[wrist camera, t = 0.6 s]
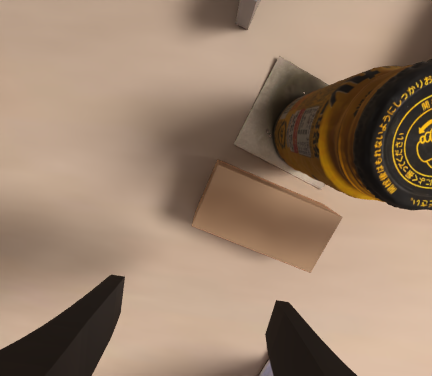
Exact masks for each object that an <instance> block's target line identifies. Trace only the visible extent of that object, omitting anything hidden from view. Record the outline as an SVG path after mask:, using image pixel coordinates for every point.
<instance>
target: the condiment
mask: <svg viewBox="0 0 432 376" xmlns="http://www.w3.org/2000/svg"><path fill="white" fill-rule="evenodd" d="M303 92H305V94H304V93H303ZM267 129H268V130H269V133H267ZM269 134H271V137H269ZM234 145H236V146H238V147H240V148H242V149H244V150H246V151H248V152H250V153H251V154H253V155H255V156H257V157H259V158H261V159H263V160H265V161H267V162H269V163H271V164H273V165H275V166H276V167H278V168H280V169H282V170H284V171H286V172H288V173H290V174H292V175H294V176H296V177H298V178H300V179H301V180H303V181H305V182H307V183H309V184H311V185H313V186H315V187H317V188H319V189H321V190H322V189H323V187H324V185H325V184H326V185H328V186H330V187H332V188H334V189H335V190H337V191H340V192H343V193H345V194H347V195H348V196H351V197H354V198H359V199H367V200H378V201H382V202H386V203H387V204H388V205H392V206H394V207H399V208H401V209H408V210H422V209H427V210H432V59H430V60H429V61H427V62H420V63H416V64H414V65H408V66H404V67H402V66H384V67H378V68H373V69H371V70H368V71H366V72H362V73H360V74H357V75H354V76H351V77H349V78H347V79H344V80H341V81H338V82H336V83H334V84H331V85H328V84H326V83H324V82H323V81H321V80H320V79H318V78H316V77H314V76H313V75H311V74H309V73H308V72H306V71H304V70H302V69H301V68H299V67H297V66H296V65H294V64H293V63H291V62H289V61H287V60H286V59H284V58H282V57H280V56H279V58H278V60H277V62H276V63H275V66H274V67H273V69H272V71H271V73H270V75H269V77H268V79H267V81H266V83H265V85H264V87H263V88H262V90H261V92H260V94H259V96H258V98H257V100H256V102H255V104H254V106H253V107H252V110H251V111H250V113H249V115H248V117H247V119H246V121H245V123H244V125H243V127H242V129H241V131H240V133H239V135H238V137H237V139H236V141H235V142H234Z"/></svg>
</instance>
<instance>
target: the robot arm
mask: <svg viewBox="0 0 432 376" xmlns="http://www.w3.org/2000/svg"><path fill="white" fill-rule="evenodd" d="M124 280H125V277H123V276H117V275H110V276H109V277H107V278H106V279H105V280H104V281H103V282H101V283H100V284H99V285H98V286H96V287H95V288H94V289H93V290H92V291H90V292H89V293H88V294H86V295H85V296H84V297H83V298H81V299H80V300H79V301H77V302H76V303H75V304H73V305H72V306H71V307H69V308H68V309H66V310H65V311H64V312H62V313H61V314H59V315H58V316H56V317H55V318H54V319H52V320H51V321H49V322H48V323H46V324H44V325H43V326H41V327H40V328H38V329H37V330H35V331H33V332H32V333H30V334H28V335H27V336H25V337H23V338H21V339H20V340H18V341H16V342H14V343H12V344H10V345H9V346H7V347H5V348H3V349H1V350H0V376H92V374H93V372H94V370H95V368H96V366H97V364H98V362H99V360H100V358H101V356H102V354H103V352H104V350H105V348H106V347H107V345H108V343H109V341H110V339H111V337H112V334H113V331H114V329H115V326H116V324H117V321H118V318H119V316H120V313H121V305H122V296H123V288H124ZM265 335H266V342H267V349H268V356H269V360H268V362H267V363H266V365H265V367H264V368H263V370H262V371H261V373H260V375H259V376H357V375H356V374H355V373H354V372H353V371H352V370H351V369H350V368H348V367H347V366H346V365H345V364H344V363H343V362H342V361H341V360H340V359H339V358H338V357H337V356H336V354H335V353H334V352H333V351H332V350H331V349H330V348H329V347H328V346H327V345H326V344H325V343H324V342H323V341H322V340H321V339H320V337H319V336H318V335H317V334H316V333H315V332H314V331H313V330H312V328H311V327H310V326H309V325H308V324H307V323H306V322H305V320H304V319H303V318H302V317H301V316H300V315H299V313H298V312H297V311H296V310H295V309H294V308H293V307H292V305H291V304H290V303H289V302H284V301H277V300H276V303H275V306H274V309H273V312H272V315H271V318H270V321H269V325H268V328H267V331H266V334H265Z"/></svg>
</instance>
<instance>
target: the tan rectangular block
mask: <svg viewBox="0 0 432 376" xmlns="http://www.w3.org/2000/svg"><path fill="white" fill-rule="evenodd" d="M341 219H342V217H341V216H340V215H338V214H337V213H335V212H334V211H332V210H331V209H329V208H328V207H327V206H325V205H324V204H321V203H319V202H317V201H314V200H312V199H310V198H307V197H305V196H303V195H300V194H298V193H296V192H293V191H291V190H288V189H286V188H284V187H281V186H279V185H277V184H274V183H272V182H270V181H267V180H265V179H263V178H260V177H258V176H256V175H253V174H251V173H249V172H246V171H244V170H242V169H239V168H237V167H235V166H232V165H230V164H228V163H225V162H223V161H221V160H217V162H216V165H215V167H214V169H213V172H212V174H211V176H210V179H209V181H208V183H207V186H206V188H205V190H204V193H203V195H202V197H201V200H200V202H199V204H198V207H197V209H196V211H195V215H194V219H193V223H192V226H193V227H195V228H198V229H200V230H203V231H205V232H208V233H211V234H213V235H216V236H218V237H221V238H223V239H226V240H228V241H231V242H233V243H236V244H238V245H241V246H243V247H246V248H249V249H251V250H254V251H256V252H259V253H261V254H264V255H266V256H269V257H271V258H274V259H276V260H279V261H281V262H284V263H287V264H289V265H292V266H294V267H297V268H299V269H302V270H304V271H307V272H309V273H311V271H312V269H313V268H314V266H315V264H316V262H317V261H318V259H319V257H320V255H321V254H322V252H323V250H324V248H325V247H326V245H327V243H328V242H329V240H330V238H331V236H332V235H333V233H334V231H335V229H336V228H337V226H338V224H339V222H340V221H341Z"/></svg>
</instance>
